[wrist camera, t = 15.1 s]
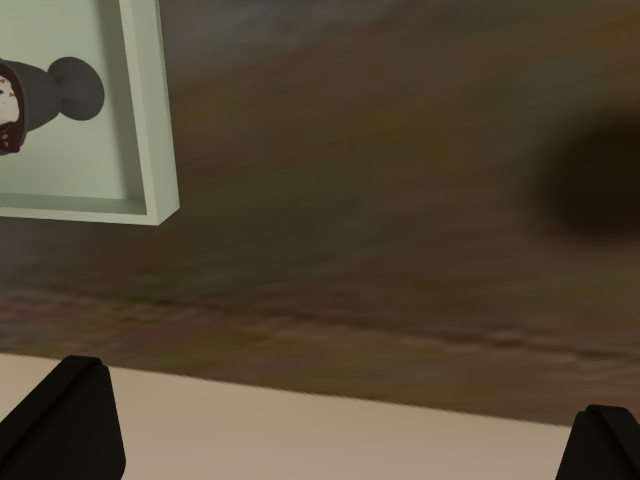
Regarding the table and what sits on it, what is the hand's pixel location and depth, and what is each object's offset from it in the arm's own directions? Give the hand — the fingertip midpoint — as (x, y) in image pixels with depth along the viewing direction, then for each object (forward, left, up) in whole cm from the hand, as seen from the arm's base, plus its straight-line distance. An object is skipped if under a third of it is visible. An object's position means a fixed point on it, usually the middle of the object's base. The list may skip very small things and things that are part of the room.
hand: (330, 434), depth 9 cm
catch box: (-3, -25, -30) cm, 39 cm away
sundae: (-4, -23, -30) cm, 38 cm away
